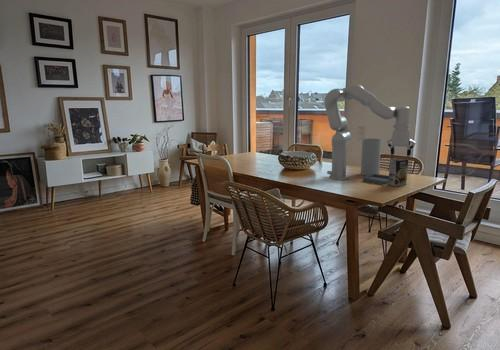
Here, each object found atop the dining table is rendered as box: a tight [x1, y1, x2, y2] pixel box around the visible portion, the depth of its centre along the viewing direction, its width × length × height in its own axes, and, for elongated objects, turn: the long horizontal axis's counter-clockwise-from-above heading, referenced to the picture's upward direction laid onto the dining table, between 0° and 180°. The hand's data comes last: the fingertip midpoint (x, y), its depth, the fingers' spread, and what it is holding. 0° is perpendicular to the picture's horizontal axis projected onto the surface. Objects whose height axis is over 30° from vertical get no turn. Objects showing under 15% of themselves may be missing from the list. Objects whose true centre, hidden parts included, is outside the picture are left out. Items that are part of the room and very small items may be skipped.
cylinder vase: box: [360, 138, 382, 177], centre depth 244 cm, size 12×12×25 cm
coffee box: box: [388, 158, 409, 187], centre depth 216 cm, size 9×6×16 cm
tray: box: [362, 173, 389, 186], centre depth 228 cm, size 15×16×2 cm
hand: (400, 155), depth 214 cm, fingers open, 9 cm apart
